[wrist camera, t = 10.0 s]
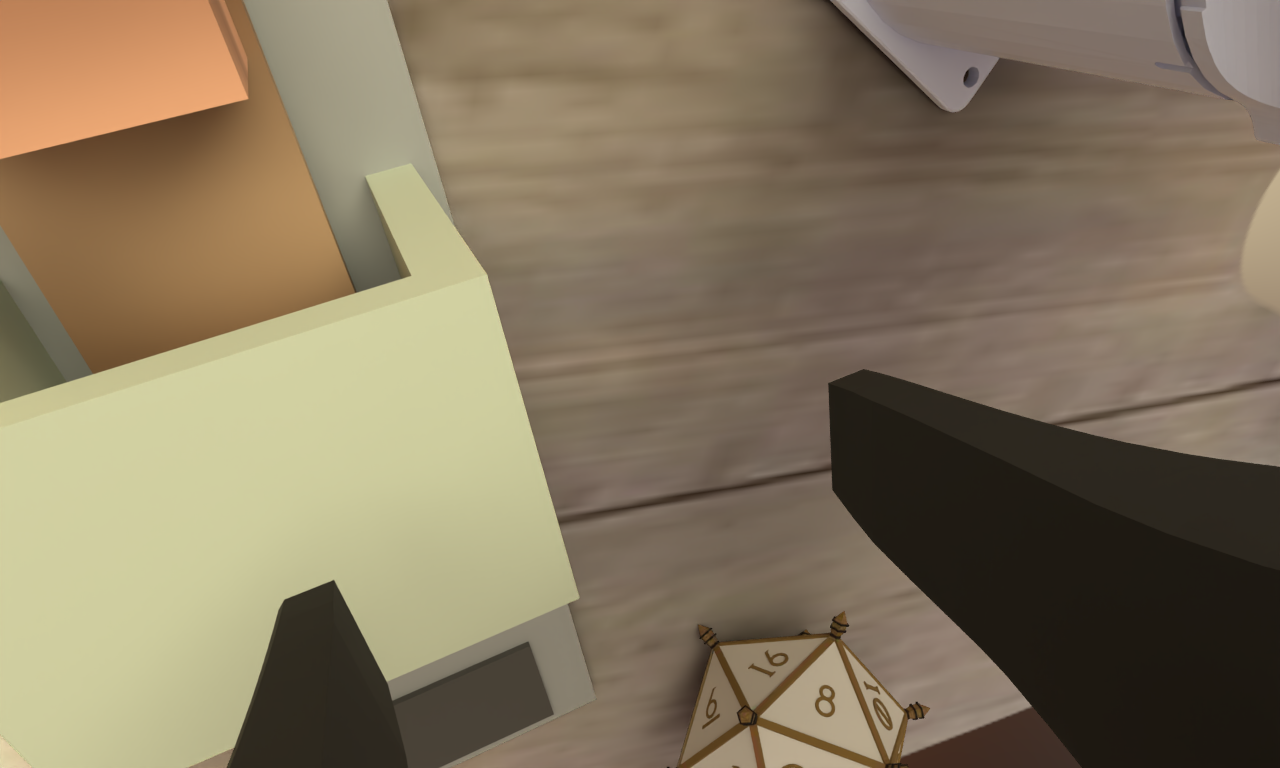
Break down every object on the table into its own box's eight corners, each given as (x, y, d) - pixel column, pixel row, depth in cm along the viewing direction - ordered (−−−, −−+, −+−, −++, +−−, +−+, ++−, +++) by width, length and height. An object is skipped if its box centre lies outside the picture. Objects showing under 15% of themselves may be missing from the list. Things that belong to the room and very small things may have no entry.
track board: (-766, -670, 9) (-822, -702, 9) (178, -681, 12) (175, -707, 11) (299, 820, 26) (299, 837, 25) (590, 686, 28) (596, 699, 28)
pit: (300, 741, 24) (300, 746, 24) (528, 641, 25) (530, 646, 25) (343, 806, 26) (343, 812, 25) (552, 709, 27) (554, 714, 27)
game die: (655, 622, 34) (581, 865, 26) (777, 506, 29) (733, 761, 21) (830, 731, 35) (811, 999, 27) (977, 636, 30) (1009, 929, 22)
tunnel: (-52, 281, 16) (-231, 500, 10) (406, 156, 18) (487, 274, 12) (128, 542, 20) (78, 814, 14) (488, 413, 22) (579, 598, 16)
